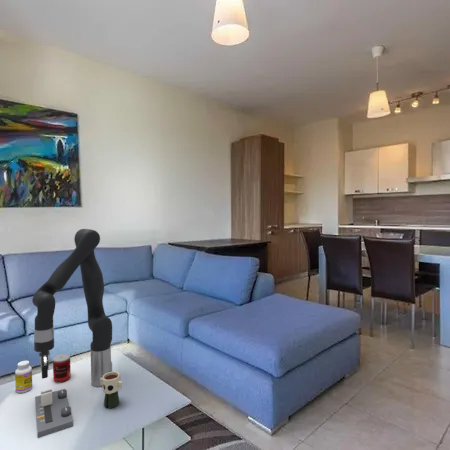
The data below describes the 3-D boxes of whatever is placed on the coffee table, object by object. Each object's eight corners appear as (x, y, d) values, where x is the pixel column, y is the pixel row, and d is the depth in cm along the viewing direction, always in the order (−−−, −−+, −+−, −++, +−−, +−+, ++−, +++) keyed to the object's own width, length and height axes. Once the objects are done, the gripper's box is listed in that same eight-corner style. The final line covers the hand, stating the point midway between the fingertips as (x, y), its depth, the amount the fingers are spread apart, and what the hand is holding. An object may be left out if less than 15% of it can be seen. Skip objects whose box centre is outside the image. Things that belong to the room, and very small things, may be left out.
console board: (65, 392, 148) (65, 383, 148) (73, 425, 126) (72, 415, 126) (35, 401, 142) (34, 391, 142) (37, 437, 120) (37, 426, 120)
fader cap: (52, 400, 139) (51, 388, 138) (52, 403, 136) (52, 392, 136) (41, 403, 137) (40, 391, 136) (41, 407, 134) (41, 395, 134)
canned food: (65, 372, 166) (64, 352, 165) (73, 377, 161) (73, 356, 160) (50, 379, 159) (49, 357, 159) (58, 384, 155) (57, 362, 154)
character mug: (95, 407, 138) (95, 377, 137) (106, 397, 145) (105, 369, 144) (117, 411, 135) (117, 382, 134) (127, 401, 142) (126, 373, 141)
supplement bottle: (24, 394, 147) (23, 367, 146) (12, 392, 148) (11, 365, 147) (35, 386, 153) (34, 360, 153) (24, 384, 155) (23, 358, 154)
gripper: (55, 342, 135) (55, 382, 136) (52, 331, 146) (53, 368, 147) (34, 345, 131) (35, 387, 132) (33, 334, 142) (34, 372, 143)
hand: (44, 377), depth 139 cm, fingers closed
